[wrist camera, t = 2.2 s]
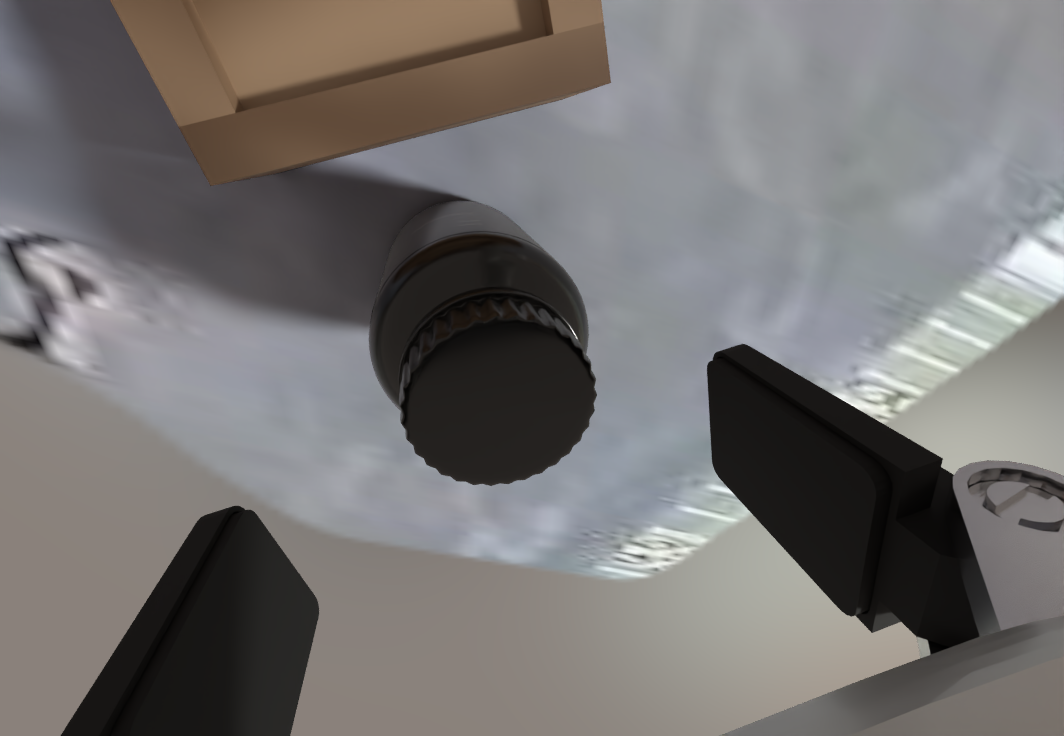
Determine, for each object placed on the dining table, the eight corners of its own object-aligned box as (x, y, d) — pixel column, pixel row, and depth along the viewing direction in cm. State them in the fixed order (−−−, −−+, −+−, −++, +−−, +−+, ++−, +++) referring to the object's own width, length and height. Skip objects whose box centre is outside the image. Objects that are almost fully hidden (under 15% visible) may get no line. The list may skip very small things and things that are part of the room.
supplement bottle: (382, 334, 21) (337, 516, 11) (394, 183, 19) (349, 234, 8) (520, 349, 23) (595, 518, 13) (549, 215, 21) (674, 289, 10)
